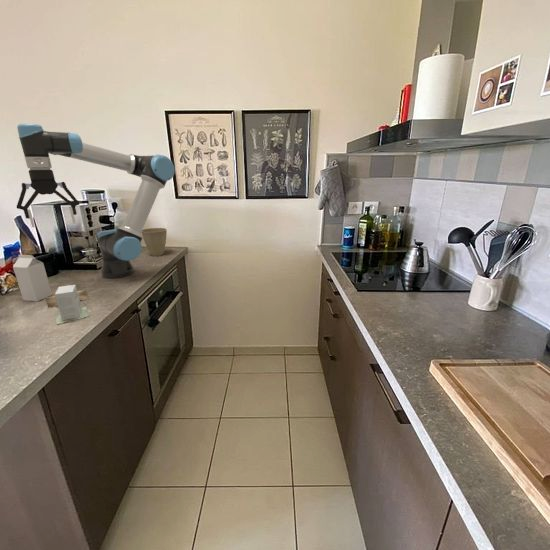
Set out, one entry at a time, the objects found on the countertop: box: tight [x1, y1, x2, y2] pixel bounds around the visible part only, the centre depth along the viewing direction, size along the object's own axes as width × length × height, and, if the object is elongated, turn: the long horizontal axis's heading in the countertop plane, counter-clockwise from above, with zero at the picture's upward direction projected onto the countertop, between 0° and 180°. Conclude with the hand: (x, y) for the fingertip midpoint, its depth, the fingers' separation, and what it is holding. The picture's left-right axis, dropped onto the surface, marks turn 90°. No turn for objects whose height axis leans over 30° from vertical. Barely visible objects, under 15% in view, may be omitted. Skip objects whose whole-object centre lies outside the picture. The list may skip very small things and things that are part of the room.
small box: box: [54, 284, 83, 321], centre depth 111 cm, size 8×6×10 cm
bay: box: [44, 289, 90, 326], centre depth 116 cm, size 14×20×4 cm
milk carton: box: [12, 254, 53, 302], centre depth 126 cm, size 7×7×19 cm
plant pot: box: [141, 227, 168, 257], centre depth 190 cm, size 15×15×16 cm
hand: (54, 224), depth 122 cm, fingers open, 13 cm apart
